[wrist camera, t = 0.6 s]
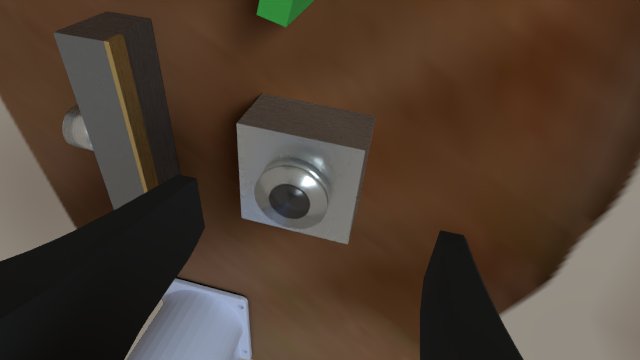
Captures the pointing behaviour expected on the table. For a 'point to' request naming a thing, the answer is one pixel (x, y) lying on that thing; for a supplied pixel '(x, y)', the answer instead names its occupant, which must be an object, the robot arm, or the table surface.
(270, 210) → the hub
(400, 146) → the table surface
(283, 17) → the pipe clamp
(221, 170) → the table surface
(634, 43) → the table surface
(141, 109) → the end block
